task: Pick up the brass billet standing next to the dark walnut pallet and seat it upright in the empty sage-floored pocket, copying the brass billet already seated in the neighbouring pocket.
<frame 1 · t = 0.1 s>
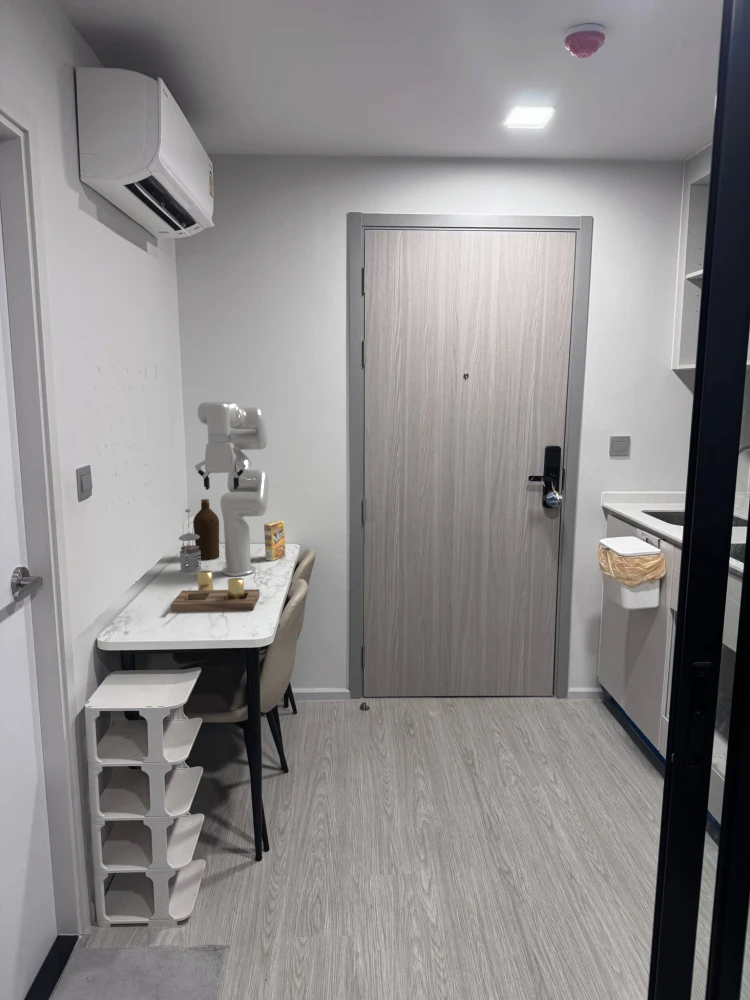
hand: (221, 489, 226), 37 cm above the table, tool pointing down, fingers open, 9 cm apart
olive oil: (208, 557, 278), on the table
seated billet: (236, 603, 216), point 1 cm above the table, touching pallet
pallet: (217, 606, 216), on the table
candy box: (275, 558, 276), on the table
billet: (206, 594, 229), on the table
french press: (190, 572, 257), on the table
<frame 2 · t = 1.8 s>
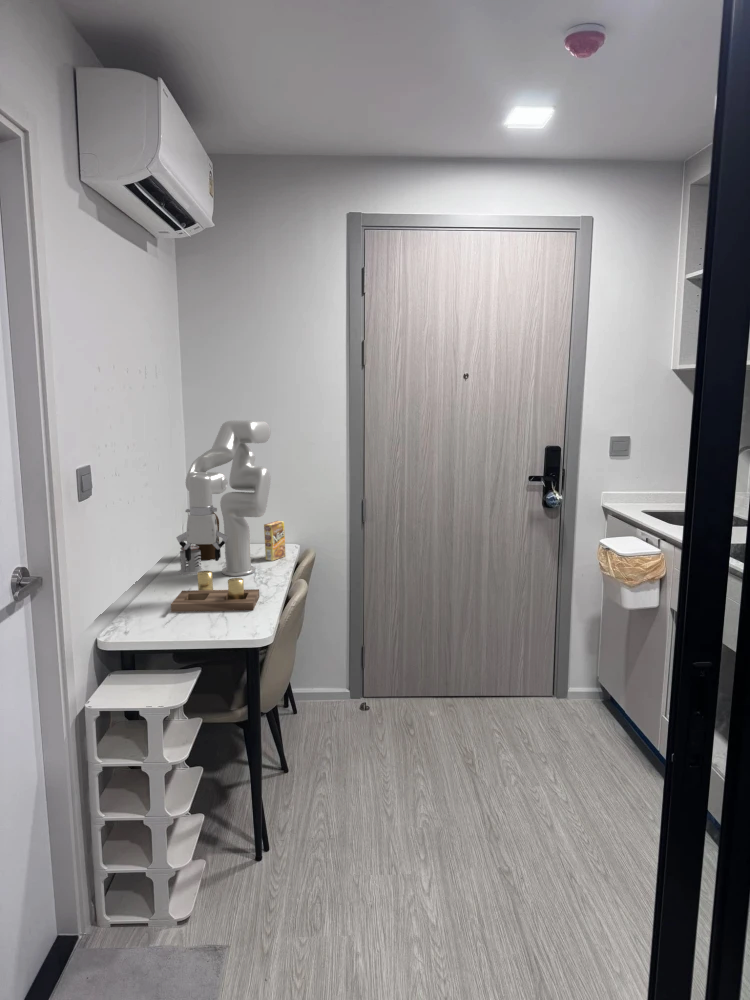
hand: (203, 560, 226), 13 cm above the table, tool pointing down, fingers open, 9 cm apart
nothing on the table moved.
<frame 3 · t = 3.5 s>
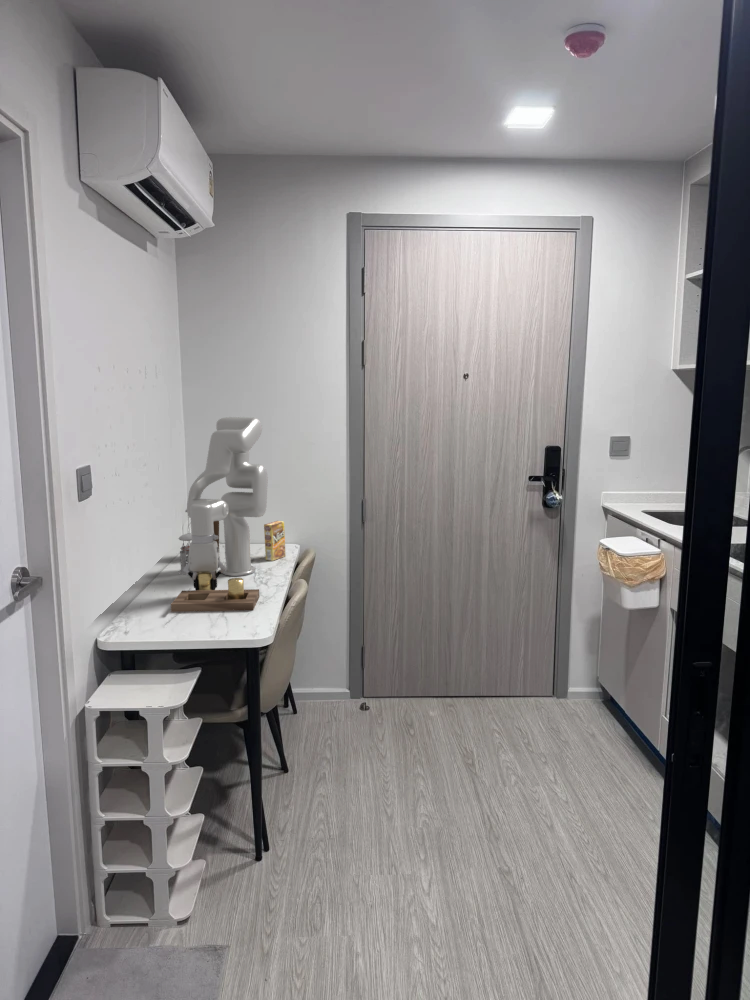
hand: (205, 589, 228), 2 cm above the table, tool pointing down, fingers closed on billet, 5 cm apart
billet: (206, 594, 228), on the table, touching gripper
everything else where it was.
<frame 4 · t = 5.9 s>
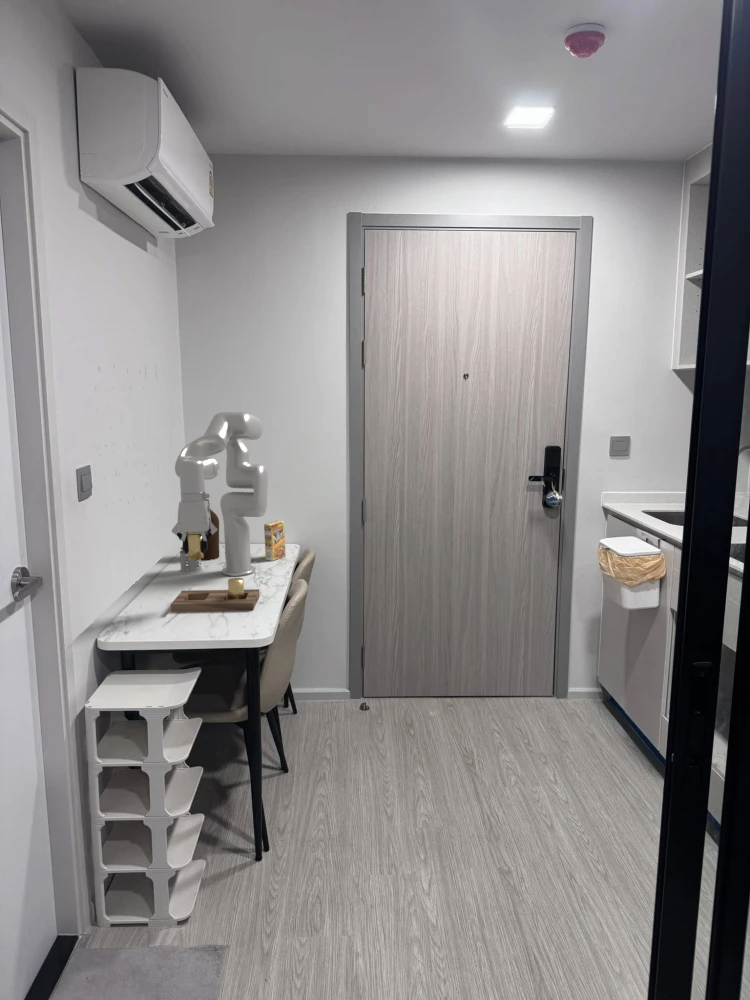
hand: (195, 551, 215), 18 cm above the table, tool pointing down, fingers closed on billet, 5 cm apart
billet: (195, 557, 215), point 16 cm above the table, touching gripper
everything else where it was.
when the fingers open (4 cm above the table, at t = 8.6 s): billet stays where it is, resting on pallet.
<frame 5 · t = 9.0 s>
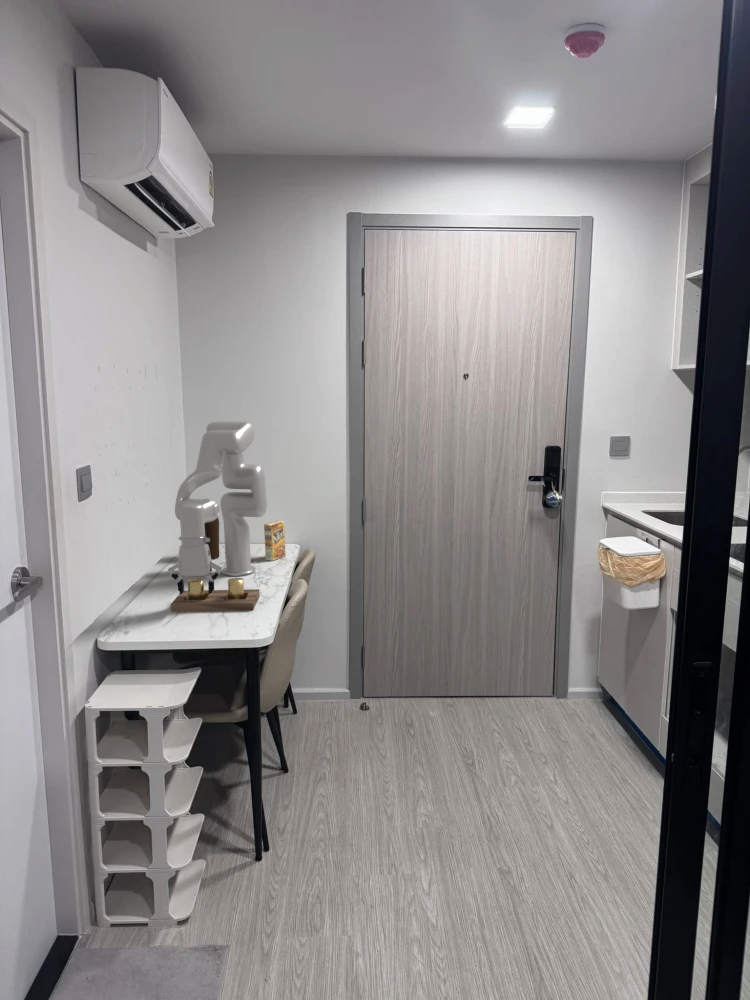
hand: (196, 592, 215), 5 cm above the table, tool pointing down, fingers open, 9 cm apart
billet: (197, 603, 216), point 1 cm above the table, touching pallet
everything else where it was.
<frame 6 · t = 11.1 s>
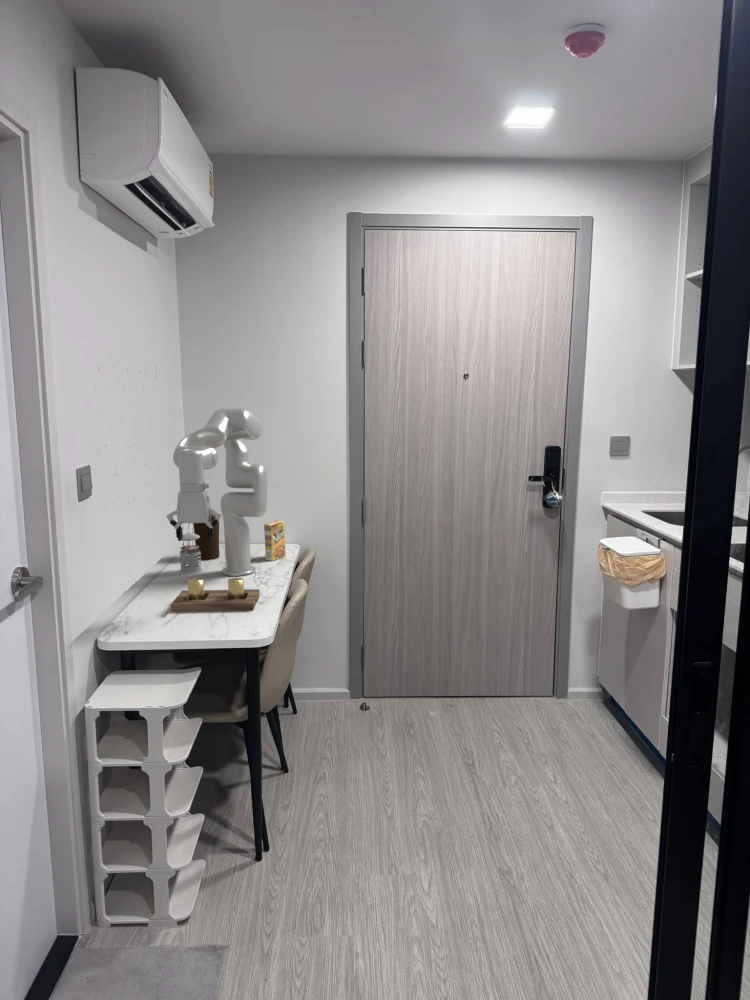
hand: (195, 539, 213), 22 cm above the table, tool pointing down, fingers open, 9 cm apart
nothing on the table moved.
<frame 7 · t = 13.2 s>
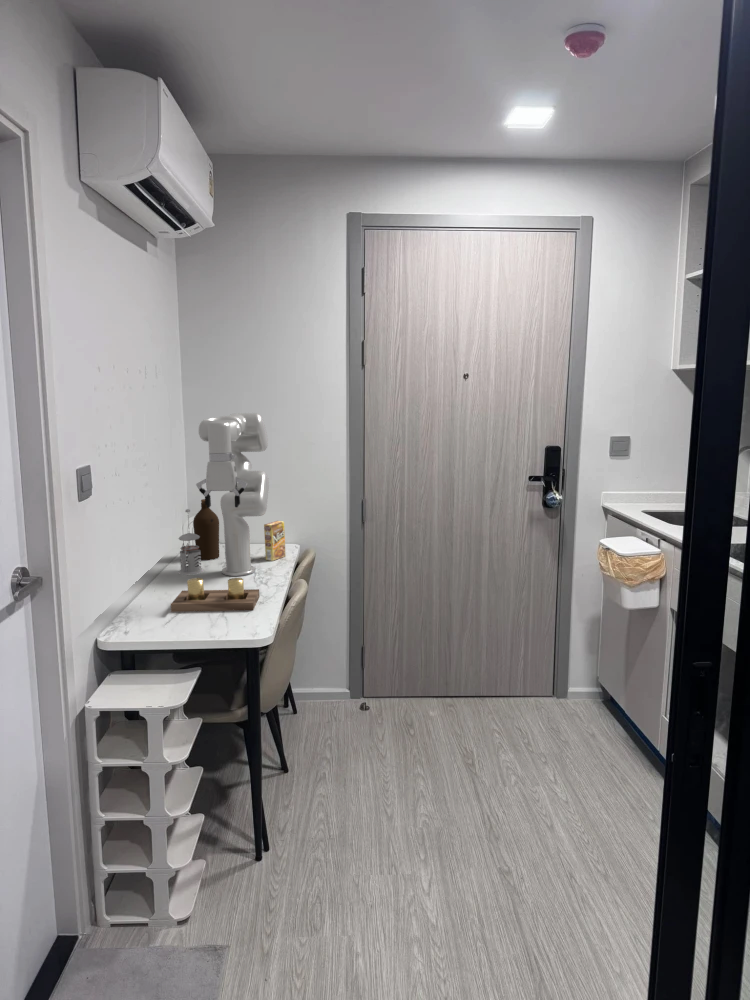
hand: (222, 506, 227), 30 cm above the table, tool pointing down, fingers open, 9 cm apart
nothing on the table moved.
at the end: billet 0.1 cm from the target spot on the pallet, point 1.2 cm above the pallet's base; billet tilted 2°; the gripper is holding nothing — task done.
